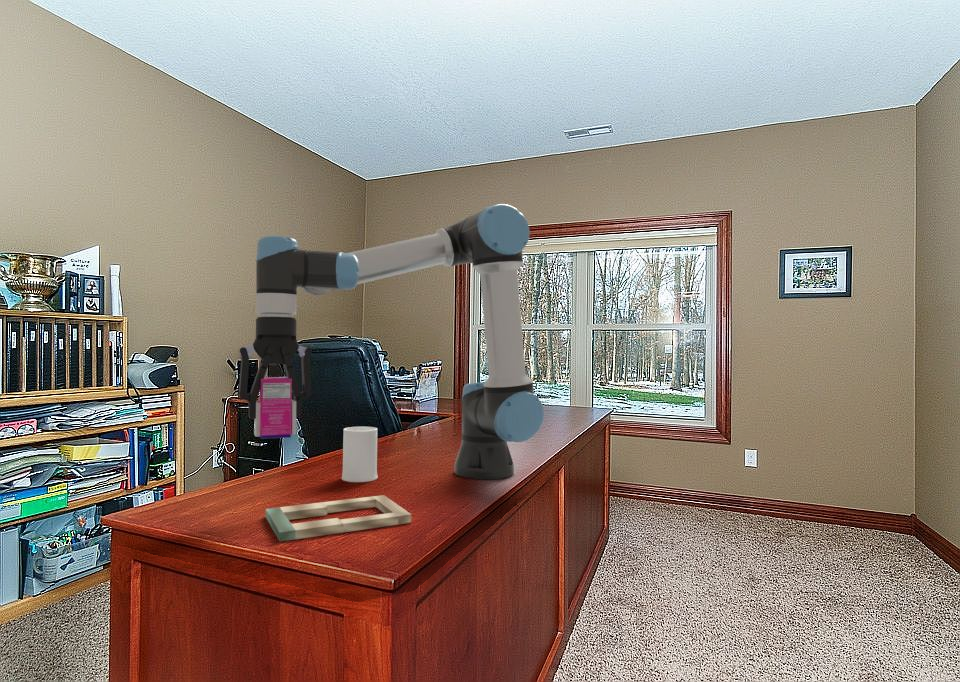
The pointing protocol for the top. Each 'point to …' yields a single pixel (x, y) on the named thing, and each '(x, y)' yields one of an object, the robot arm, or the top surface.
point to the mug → (359, 454)
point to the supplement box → (275, 407)
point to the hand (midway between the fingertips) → (275, 434)
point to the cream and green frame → (289, 531)
